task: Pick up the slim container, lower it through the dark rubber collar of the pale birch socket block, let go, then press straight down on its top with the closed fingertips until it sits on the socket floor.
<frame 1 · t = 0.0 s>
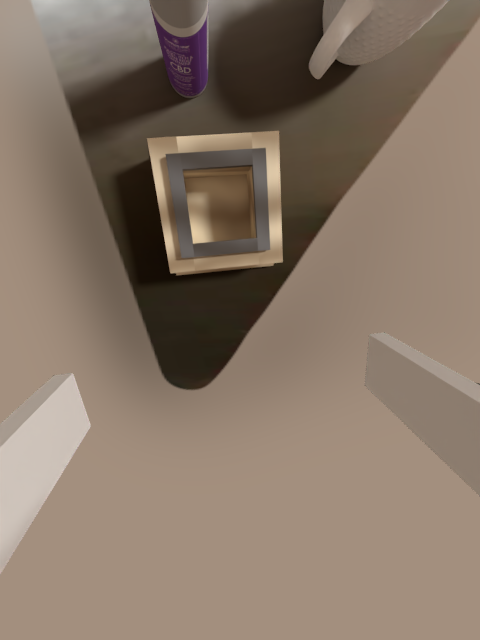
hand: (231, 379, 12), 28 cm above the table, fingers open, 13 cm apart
socket: (219, 210, 35), on the table
container: (188, 75, 30), on the table
mug: (342, 38, 31), on the table
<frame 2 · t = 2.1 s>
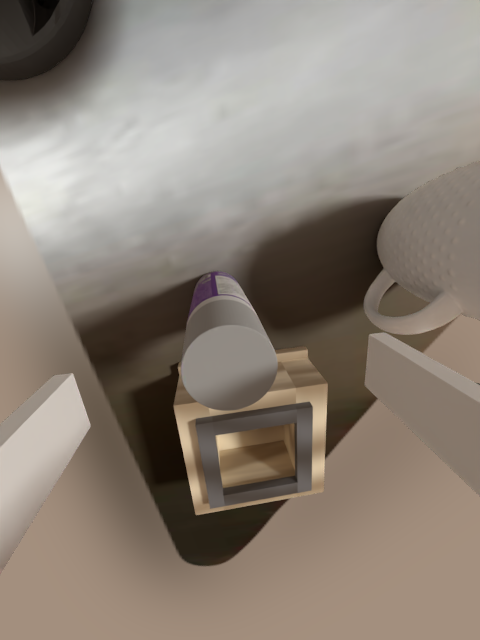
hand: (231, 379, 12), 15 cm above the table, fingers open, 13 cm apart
socket: (248, 413, 31), on the table
container: (217, 293, 26), on the table
mug: (397, 245, 26), on the table
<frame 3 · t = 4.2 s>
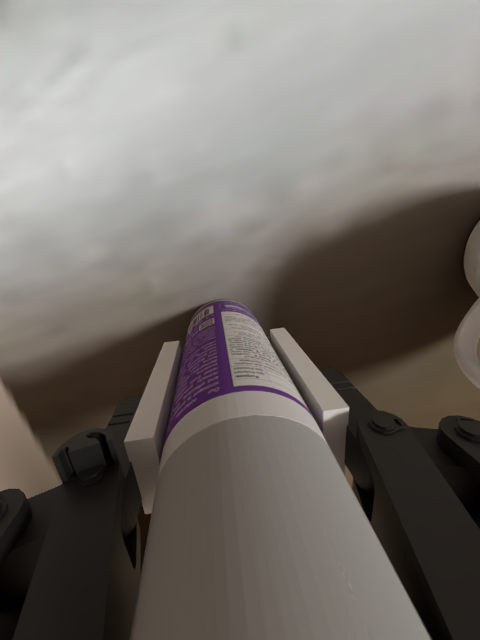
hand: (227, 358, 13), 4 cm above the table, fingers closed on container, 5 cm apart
container: (223, 332, 17), on the table, touching gripper
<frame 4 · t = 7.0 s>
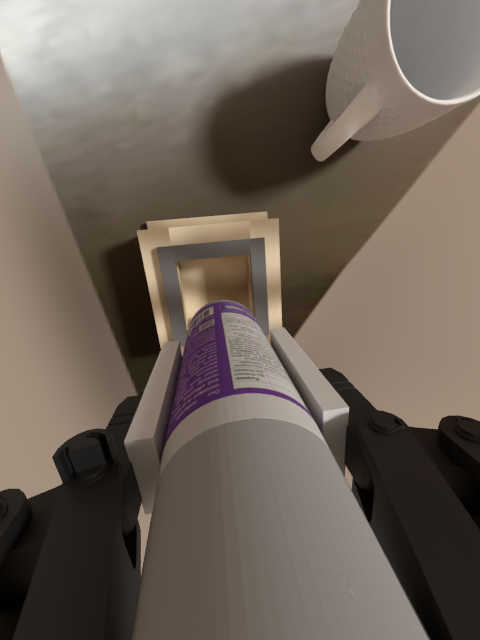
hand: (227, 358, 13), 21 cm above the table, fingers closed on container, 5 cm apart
socket: (215, 283, 33), on the table
container: (223, 332, 17), point 17 cm above the table, touching gripper
mug: (347, 109, 29), on the table
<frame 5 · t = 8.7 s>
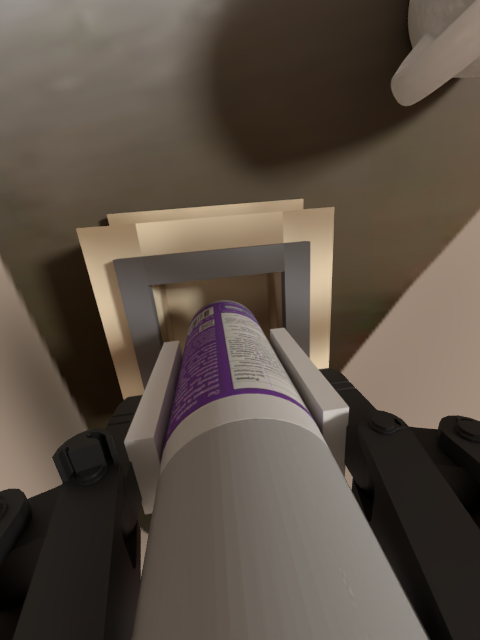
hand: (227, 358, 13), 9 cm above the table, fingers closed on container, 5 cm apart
socket: (219, 309, 22), on the table
container: (223, 333, 17), point 5 cm above the table, touching gripper
mug: (437, 30, 18), on the table
when the fingers open (7 cm above the table, at t = 9.7 s): container drops 2 cm, resting on socket.
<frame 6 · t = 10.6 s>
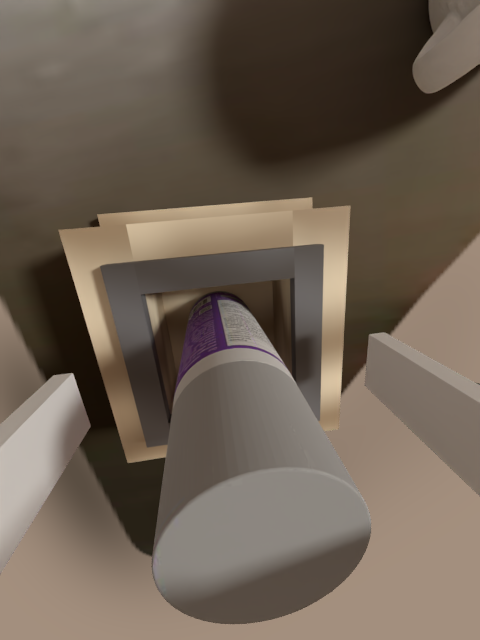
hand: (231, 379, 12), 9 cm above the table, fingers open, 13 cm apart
socket: (221, 317, 20), on the table
container: (219, 320, 19), point 1 cm above the table, touching socket
mug: (459, 12, 16), on the table
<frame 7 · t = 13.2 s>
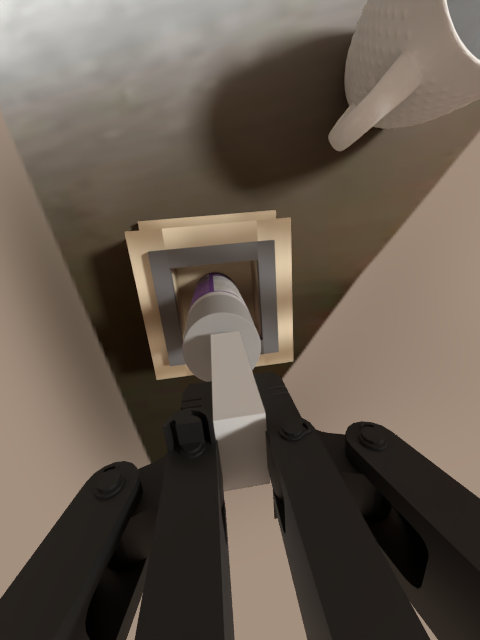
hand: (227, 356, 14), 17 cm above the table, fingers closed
socket: (216, 291, 29), on the table
container: (215, 292, 29), point 1 cm above the table, touching socket
mug: (367, 93, 25), on the table
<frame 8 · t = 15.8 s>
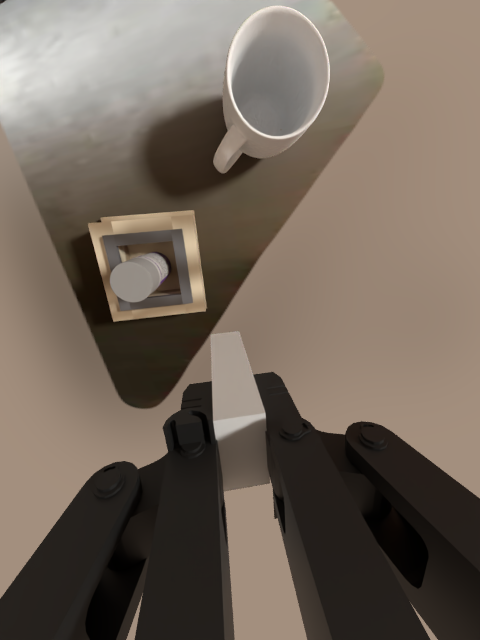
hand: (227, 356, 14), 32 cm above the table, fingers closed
socket: (158, 265, 43), on the table
container: (157, 266, 42), point 1 cm above the table, touching socket
mug: (251, 133, 39), on the table
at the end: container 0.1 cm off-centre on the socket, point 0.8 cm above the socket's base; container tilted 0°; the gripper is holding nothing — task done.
